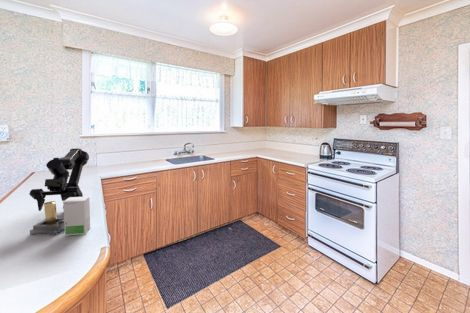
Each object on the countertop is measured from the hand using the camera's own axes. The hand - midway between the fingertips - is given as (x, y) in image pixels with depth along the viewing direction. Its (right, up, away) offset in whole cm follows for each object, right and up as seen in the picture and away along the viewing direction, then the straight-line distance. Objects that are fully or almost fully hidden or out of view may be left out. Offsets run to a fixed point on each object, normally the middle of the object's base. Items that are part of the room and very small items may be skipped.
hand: (51, 209), depth 101 cm
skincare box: (+13, -10, -1) cm, 16 cm away
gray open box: (0, -9, 0) cm, 9 cm away
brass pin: (0, -9, 0) cm, 9 cm away
